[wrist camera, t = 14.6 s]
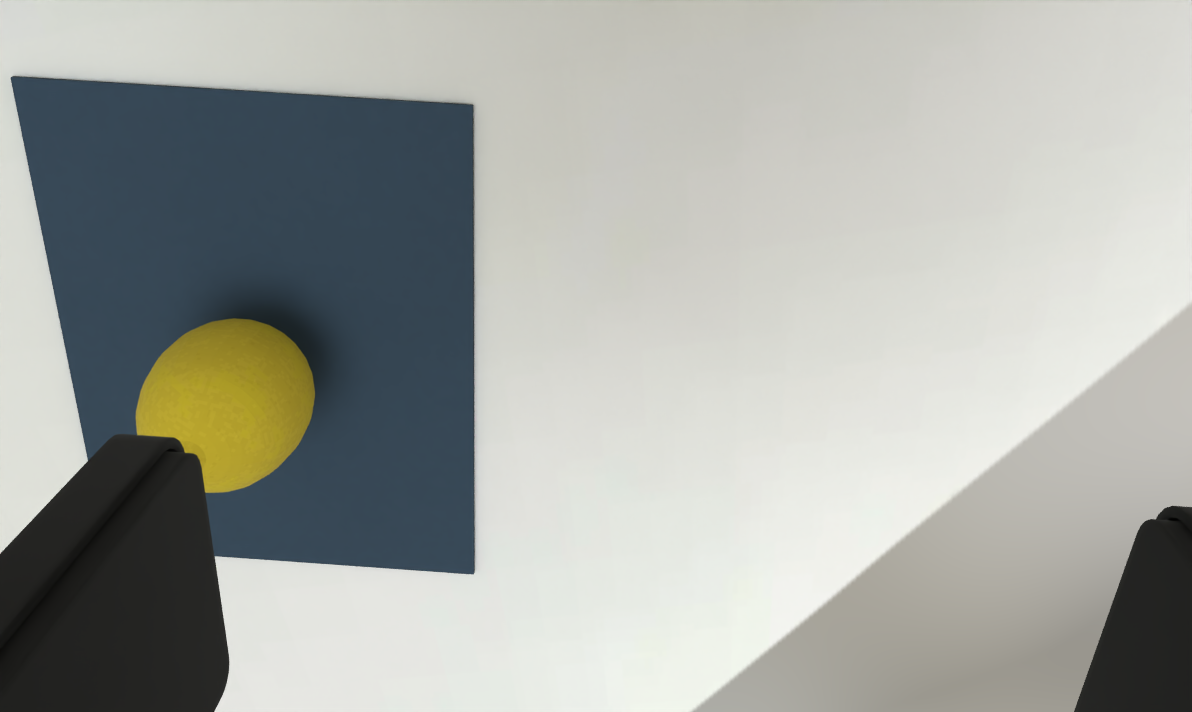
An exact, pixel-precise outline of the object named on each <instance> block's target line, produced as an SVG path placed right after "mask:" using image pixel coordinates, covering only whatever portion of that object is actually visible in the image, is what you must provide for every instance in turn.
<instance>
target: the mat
mask: <svg viewBox="0 0 1192 712" xmlns="http://www.w3.org/2000/svg"><path fill="white" fill-rule="evenodd" d="M11 82H12V87H13V92H14V97H15V102H16V107H17V112H18V116H19V121H20V126H21V131H22V136H23V141H24V146H25V151H26V156H27V161H28V166H29V171H30V176H31V181H32V186H33V191H34V196H35V200H36V205H37V210H38V215H39V220H40V225H41V230H42V235H43V240H44V245H45V250H46V255H47V260H48V265H49V270H50V275H51V280H52V284H53V289H54V294H55V299H56V304H57V309H58V314H59V319H60V324H61V329H62V334H63V339H64V344H65V349H66V354H67V359H68V363H69V368H70V373H71V378H72V383H73V388H74V393H75V398H76V403H77V408H78V413H79V418H80V423H81V428H82V433H83V438H84V443H85V447H86V452H87V457H88V461H89V460H90V459H91V457H92V456H93V455H94V454H95V453H96V452H97V451H98V450H99V449H100V448H101V447H102V446H103V445H104V444H105V443H106V442H107V441H108V440H109V439H110V438H111V437H113V436H114V435H116V434H131V435H137V428H136V409H137V405H138V400H139V396H140V392H141V389H142V386H143V384H144V382H145V380H146V378H147V376H148V374H149V373H150V371H151V369H152V368H153V366H154V364H155V363H156V361H157V360H158V358H159V357H160V356H161V354H162V353H163V352H164V351H165V350H166V349H168V348H169V347H170V346H171V345H172V344H173V343H174V342H175V341H177V340H178V339H179V338H180V337H181V336H183V335H184V334H186V333H187V332H189V331H191V330H193V329H196V328H198V327H200V326H202V325H205V324H207V323H210V322H213V321H219V320H225V319H233V318H236V319H249V320H254V321H258V322H261V323H264V324H267V325H270V326H272V327H274V328H275V329H277V330H279V331H281V332H283V333H284V334H285V335H286V336H287V337H289V338H290V339H291V340H292V341H293V342H294V343H295V344H296V345H297V346H298V348H299V349H300V350H301V352H302V353H303V354H304V356H305V357H306V359H307V362H308V364H309V367H310V369H311V372H312V375H313V382H314V389H315V399H314V406H313V412H312V417H311V420H310V423H309V425H308V427H307V429H306V431H305V433H304V435H303V437H302V439H301V441H300V443H299V445H298V446H297V447H296V449H295V450H294V451H293V452H292V453H291V454H290V455H289V456H288V457H287V458H286V460H285V461H284V462H283V463H282V464H281V465H280V466H279V467H278V468H277V469H275V470H274V471H273V472H272V473H270V474H269V475H267V476H265V477H264V478H262V479H260V480H258V481H257V482H255V483H253V484H251V485H250V486H247V487H245V488H241V489H237V490H233V491H230V492H219V493H206V492H205V494H206V501H207V508H208V515H209V522H210V529H211V536H212V543H213V550H214V556H221V557H235V558H249V559H264V560H278V561H292V562H306V563H320V564H334V565H348V566H362V567H376V568H391V569H405V570H419V571H433V572H447V573H461V574H474V237H473V105H468V104H452V103H436V102H420V101H404V100H388V99H371V98H355V97H339V96H323V95H307V94H291V93H275V92H259V91H242V90H226V89H210V88H194V87H178V86H162V85H146V84H129V83H113V82H97V81H81V80H65V79H49V78H33V77H16V76H13V77H11Z"/></svg>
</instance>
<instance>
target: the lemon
mask: <svg viewBox="0 0 1192 712" xmlns="http://www.w3.org/2000/svg"><path fill="white" fill-rule="evenodd" d="M314 399H315V389H314V382H313V375H312V372H311V369H310V367H309V364H308V362H307V359H306V357H305V356H304V354H303V353H302V352H301V350H300V349H299V348H298V346H297V345H296V344H295V343H294V342H293V341H292V340H291V339H290V338H289V337H287V336H286V335H285V334H284V333H283V332H281V331H279V330H277V329H275V328H274V327H272V326H270V325H267V324H264V323H261V322H258V321H254V320H249V319H236V318H233V319H225V320H219V321H213V322H210V323H207V324H205V325H202V326H200V327H198V328H196V329H193V330H191V331H189V332H187V333H186V334H184V335H183V336H181V337H180V338H179V339H178V340H177V341H175V342H174V343H173V344H172V345H171V346H170V347H169V348H168V349H166V350H165V351H164V352H163V353H162V354H161V356H160V357H159V358H158V360H157V361H156V363H155V364H154V366H153V368H152V369H151V371H150V373H149V374H148V376H147V378H146V380H145V382H144V384H143V386H142V389H141V392H140V396H139V400H138V405H137V409H136V428H137V435H146V436H160V437H174V438H176V439H178V440H179V441H180V442H181V444H182V446H183V447H184V451H185V453H194V454H195V455H197V456H198V458H199V460H200V463H201V467H202V473H203V480H204V487H205V492H206V493H219V492H230V491H233V490H237V489H241V488H245V487H247V486H250V485H251V484H253V483H255V482H257V481H258V480H260V479H262V478H264V477H265V476H267V475H269V474H270V473H272V472H273V471H274V470H275V469H277V468H278V467H279V466H280V465H281V464H282V463H283V462H284V461H285V460H286V458H287V457H288V456H289V455H290V454H291V453H292V452H293V451H294V450H295V449H296V447H297V446H298V445H299V443H300V441H301V439H302V437H303V435H304V433H305V431H306V429H307V427H308V425H309V423H310V420H311V417H312V412H313V406H314Z"/></svg>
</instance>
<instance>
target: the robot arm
mask: <svg viewBox="0 0 1192 712" xmlns="http://www.w3.org/2000/svg"><path fill="white" fill-rule="evenodd" d="M228 673H229V654H228V647H227V640H226V633H225V626H224V619H223V612H222V605H221V598H220V591H219V584H218V577H217V570H216V563H215V557H214V550H213V543H212V536H211V529H210V522H209V515H208V508H207V501H206V494H205V487H204V480H203V473H202V467H201V463H200V460H199V458H198V456H197V455H195V454H194V453H185V451H184V447H183V446H182V444H181V442H180V441H179V440H178V439H176V438H174V437H160V436H146V435H131V434H116V435H114V436H113V437H111V438H110V439H109V440H108V441H107V442H106V443H105V444H104V445H103V446H102V447H101V448H100V449H99V450H98V451H97V452H96V453H95V454H94V455H93V456H92V457H91V459H90V460H89V461H88V462H87V463H86V464H85V465H84V466H83V467H82V468H81V469H80V470H79V471H78V472H77V473H76V474H75V475H74V476H73V478H72V479H71V480H70V481H69V482H68V483H67V484H66V485H65V486H64V487H63V488H62V489H61V490H60V491H59V492H58V493H57V494H56V496H55V497H54V498H53V499H52V500H51V501H50V502H49V503H48V504H47V505H46V506H45V507H44V508H43V509H42V510H41V511H40V512H39V513H38V515H37V516H36V517H35V518H34V519H33V520H32V521H31V522H30V523H29V524H28V525H27V526H26V527H25V528H24V529H23V530H22V531H21V532H20V534H19V535H18V536H17V537H16V538H15V539H14V540H13V541H12V542H11V543H10V544H9V545H8V546H7V547H6V548H5V549H4V550H3V552H2V553H1V554H0V712H214V711H215V709H216V707H217V705H218V703H219V701H220V699H221V697H222V695H223V692H224V690H225V686H226V683H227V678H228ZM1074 712H1192V507H1180V506H1171V507H1167V508H1165V509H1164V510H1163V511H1162V512H1161V513H1160V514H1159V515H1158V517H1157V519H1156V520H1154V519H1150V520H1147V521H1145V522H1144V523H1143V524H1142V525H1141V527H1140V529H1139V531H1138V533H1137V535H1136V538H1135V541H1134V544H1133V547H1132V550H1131V552H1130V555H1129V558H1128V561H1127V564H1126V566H1125V569H1124V572H1123V575H1122V578H1121V580H1120V583H1119V586H1118V589H1117V592H1116V595H1115V598H1114V600H1113V603H1112V606H1111V609H1110V612H1109V615H1108V617H1107V620H1106V623H1105V626H1104V629H1103V631H1102V634H1101V637H1100V640H1099V643H1098V646H1097V648H1096V651H1095V654H1094V657H1093V660H1092V662H1091V665H1090V668H1089V671H1088V674H1087V677H1086V680H1085V682H1084V685H1083V688H1082V691H1081V694H1080V696H1079V699H1078V702H1077V705H1076V708H1075V711H1074Z"/></svg>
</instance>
